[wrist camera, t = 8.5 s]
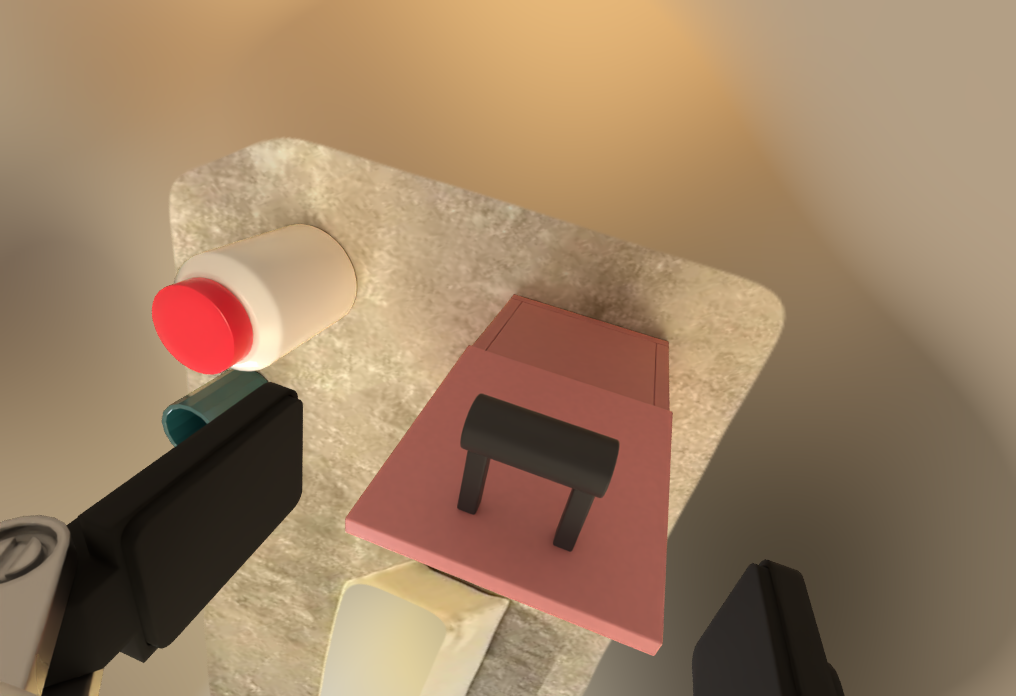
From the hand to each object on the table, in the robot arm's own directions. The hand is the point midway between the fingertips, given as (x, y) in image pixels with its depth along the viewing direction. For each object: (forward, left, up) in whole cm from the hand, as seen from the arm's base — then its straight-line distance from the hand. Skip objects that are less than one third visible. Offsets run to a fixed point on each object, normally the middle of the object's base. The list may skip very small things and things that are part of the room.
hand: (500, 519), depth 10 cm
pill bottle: (-3, -22, -24) cm, 33 cm away
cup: (+5, -34, -24) cm, 42 cm away
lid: (+5, -3, -9) cm, 11 cm away
